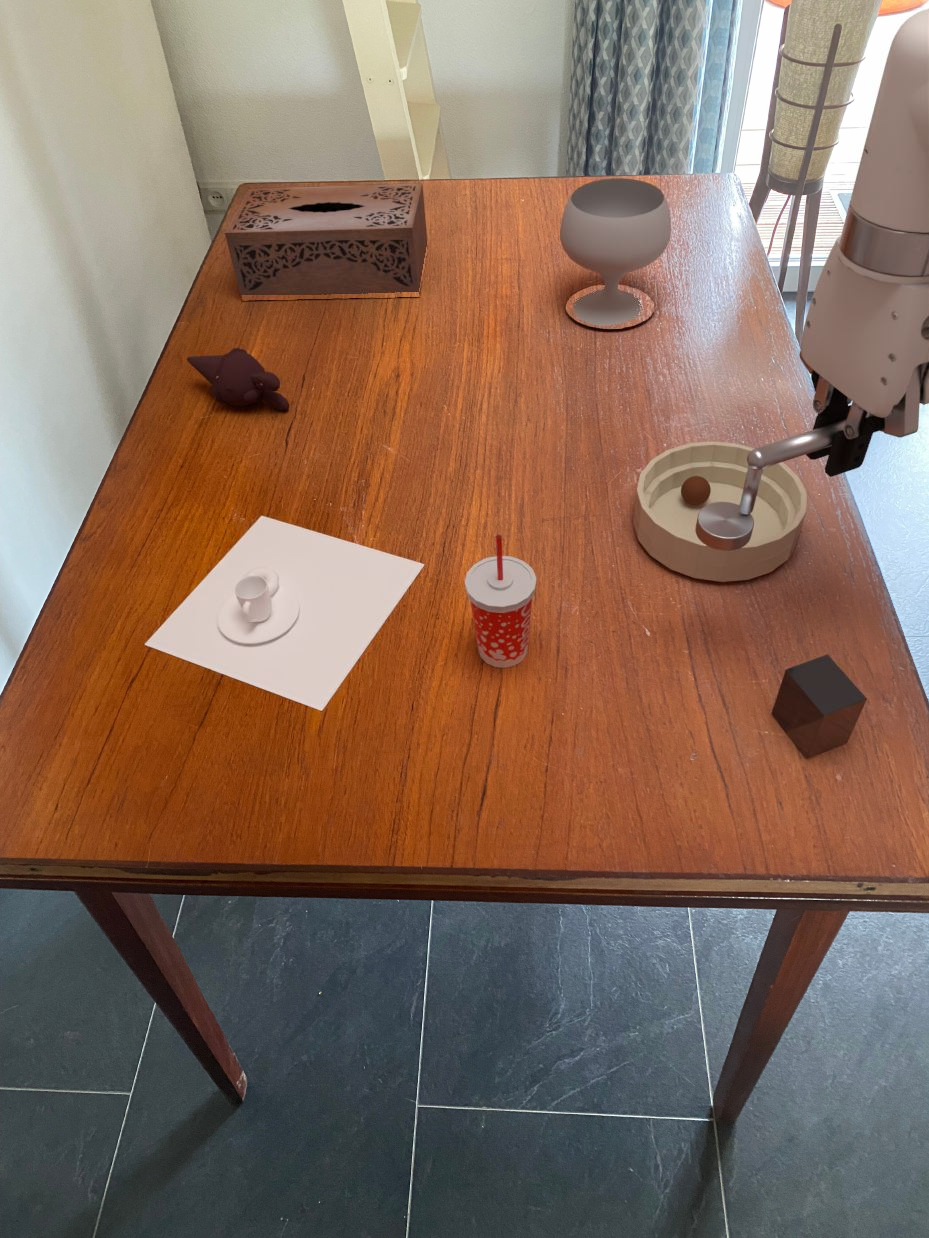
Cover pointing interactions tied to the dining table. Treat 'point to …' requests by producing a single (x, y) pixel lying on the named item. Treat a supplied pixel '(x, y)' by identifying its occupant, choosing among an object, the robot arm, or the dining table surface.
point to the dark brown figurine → (239, 379)
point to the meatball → (695, 490)
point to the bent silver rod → (756, 489)
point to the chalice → (614, 241)
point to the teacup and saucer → (288, 610)
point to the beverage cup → (501, 607)
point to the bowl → (724, 465)
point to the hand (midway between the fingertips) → (833, 460)
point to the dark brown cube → (818, 705)
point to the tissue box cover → (329, 239)
